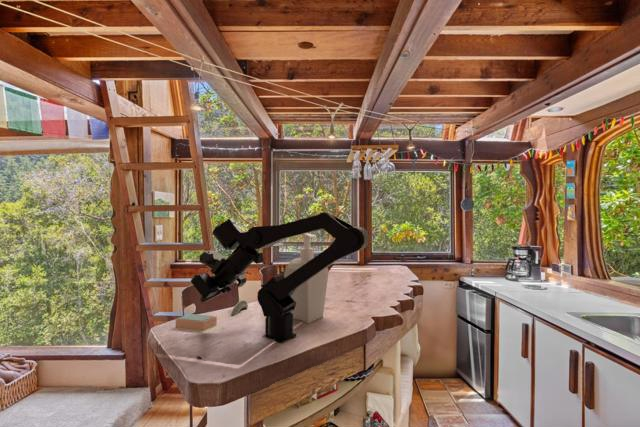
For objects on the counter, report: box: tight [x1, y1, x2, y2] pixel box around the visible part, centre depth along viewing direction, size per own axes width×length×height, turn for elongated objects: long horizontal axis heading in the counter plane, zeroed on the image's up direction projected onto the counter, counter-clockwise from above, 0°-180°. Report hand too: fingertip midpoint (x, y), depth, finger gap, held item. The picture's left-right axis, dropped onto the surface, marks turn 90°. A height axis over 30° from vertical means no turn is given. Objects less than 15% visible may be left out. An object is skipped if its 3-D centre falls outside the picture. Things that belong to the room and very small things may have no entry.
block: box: [175, 313, 218, 331], centre depth 103 cm, size 2×6×9 cm
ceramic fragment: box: [227, 300, 249, 317], centre depth 120 cm, size 14×5×4 cm, turn 172°
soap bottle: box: [283, 232, 329, 324], centre depth 114 cm, size 12×10×26 cm
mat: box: [172, 322, 230, 334], centre depth 102 cm, size 12×9×1 cm
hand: (202, 301), depth 102 cm, fingers closed
